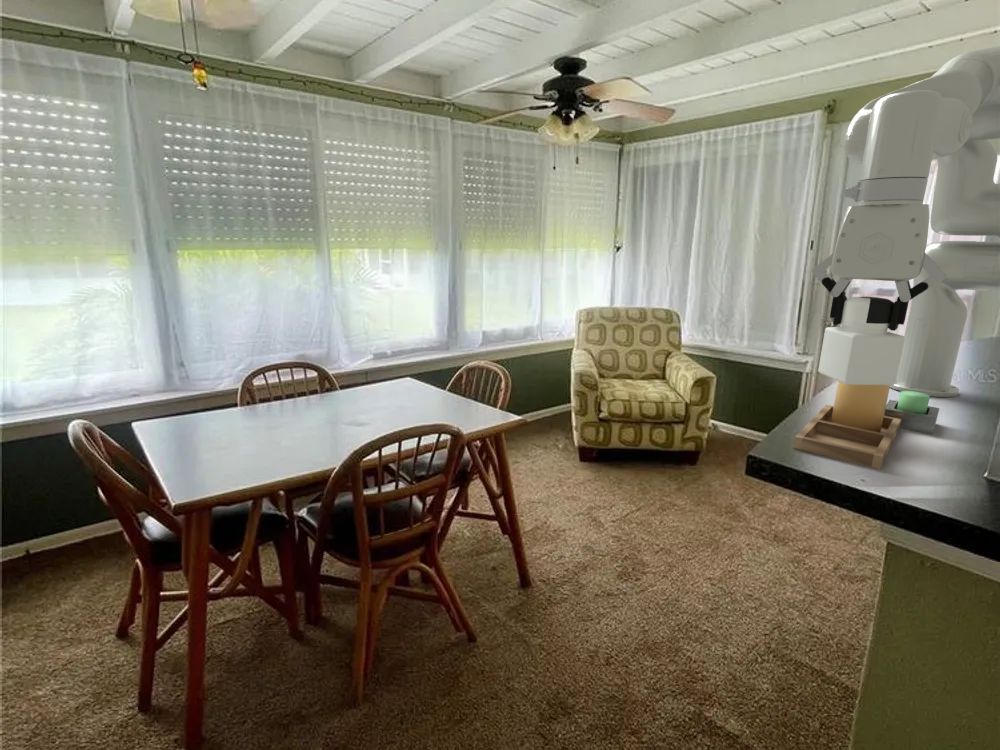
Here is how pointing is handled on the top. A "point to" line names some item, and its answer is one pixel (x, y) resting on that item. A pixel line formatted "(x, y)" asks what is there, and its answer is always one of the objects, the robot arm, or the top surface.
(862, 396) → the bottle
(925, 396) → the button
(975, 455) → the top surface
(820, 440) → the wooden tray
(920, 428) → the button pedestal
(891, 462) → the top surface
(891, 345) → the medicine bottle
